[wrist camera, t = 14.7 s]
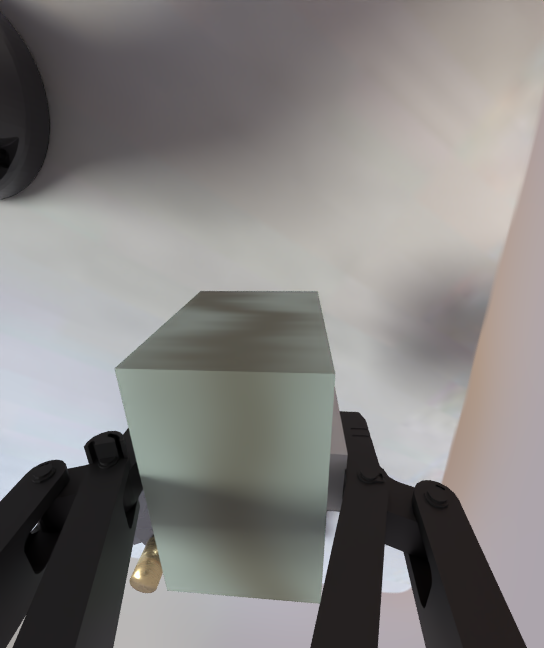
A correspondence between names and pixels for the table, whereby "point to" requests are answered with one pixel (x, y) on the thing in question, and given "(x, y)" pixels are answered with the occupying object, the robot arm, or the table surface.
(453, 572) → the robot arm
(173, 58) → the table surface
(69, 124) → the table surface
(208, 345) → the link block
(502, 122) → the table surface
